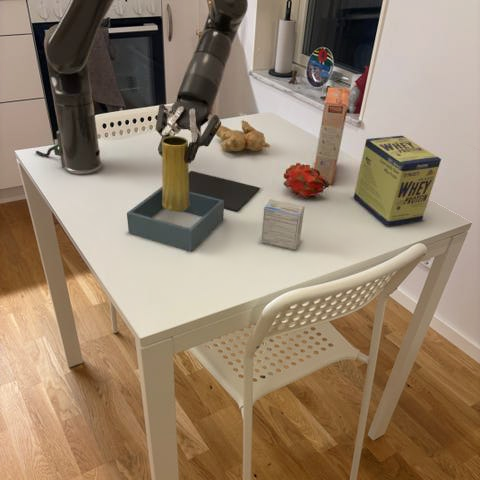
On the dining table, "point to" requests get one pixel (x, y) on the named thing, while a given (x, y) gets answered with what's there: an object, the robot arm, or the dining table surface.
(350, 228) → the dining table surface
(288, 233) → the medicine box
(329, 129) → the cracker box
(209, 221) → the tub
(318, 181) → the dragon fruit
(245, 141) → the ginger root
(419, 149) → the protein box
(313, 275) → the dining table surface
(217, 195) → the mat
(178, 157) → the vase
